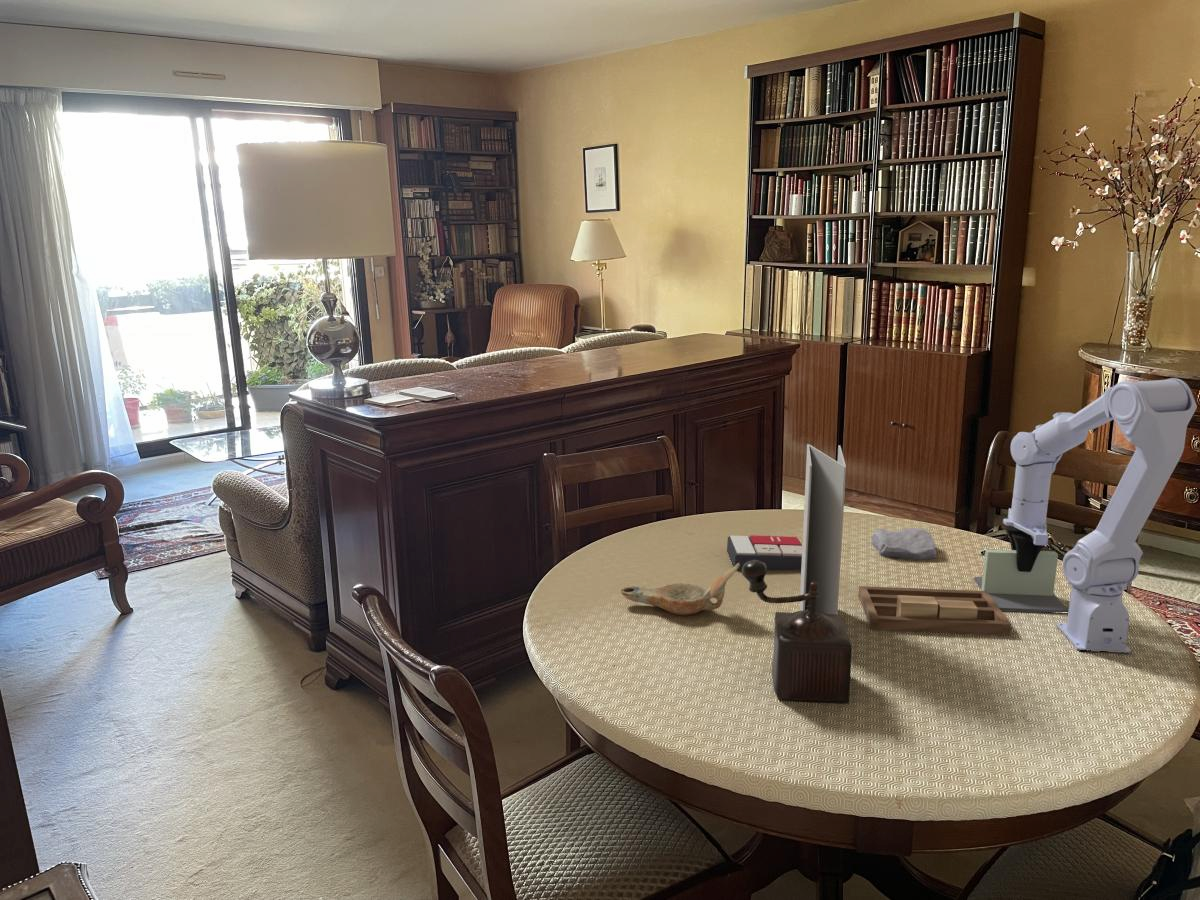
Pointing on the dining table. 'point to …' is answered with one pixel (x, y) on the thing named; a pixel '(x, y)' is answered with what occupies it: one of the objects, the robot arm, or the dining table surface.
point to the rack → (883, 617)
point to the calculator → (766, 551)
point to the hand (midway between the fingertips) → (1022, 568)
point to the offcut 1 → (917, 606)
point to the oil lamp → (682, 595)
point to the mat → (1025, 602)
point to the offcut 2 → (957, 609)
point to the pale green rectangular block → (1018, 573)
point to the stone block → (905, 543)
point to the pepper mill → (806, 647)
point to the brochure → (823, 528)
